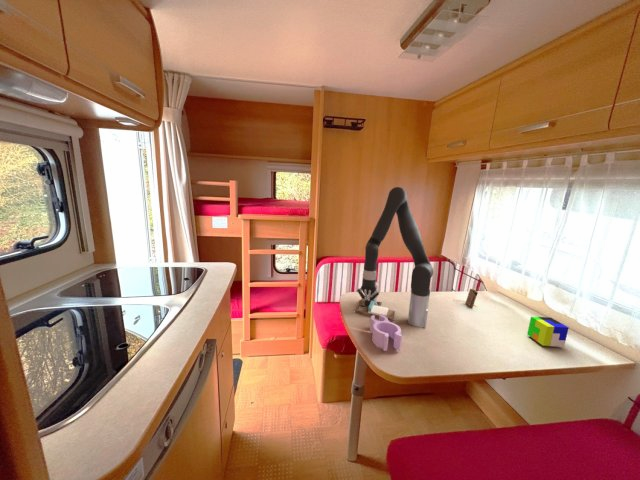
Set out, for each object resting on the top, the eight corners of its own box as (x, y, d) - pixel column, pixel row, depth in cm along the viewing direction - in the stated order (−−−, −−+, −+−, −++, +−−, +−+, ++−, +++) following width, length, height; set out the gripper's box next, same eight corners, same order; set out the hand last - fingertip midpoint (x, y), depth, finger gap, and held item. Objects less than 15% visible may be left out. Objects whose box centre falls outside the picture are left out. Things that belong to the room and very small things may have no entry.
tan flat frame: (396, 307, 160) (396, 305, 160) (393, 321, 143) (393, 318, 142) (361, 300, 168) (361, 298, 167) (354, 312, 150) (354, 310, 150)
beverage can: (377, 305, 162) (379, 281, 159) (375, 308, 157) (378, 284, 154) (368, 303, 164) (370, 280, 161) (366, 307, 159) (368, 283, 156)
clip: (363, 328, 134) (364, 315, 133) (386, 326, 137) (388, 314, 135) (379, 351, 115) (380, 337, 114) (405, 349, 117) (407, 335, 116)
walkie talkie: (482, 311, 160) (487, 283, 157) (460, 310, 161) (465, 282, 158) (472, 302, 173) (476, 276, 170) (451, 301, 174) (455, 275, 171)
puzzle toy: (564, 346, 126) (568, 327, 124) (542, 345, 126) (547, 326, 124) (546, 335, 135) (550, 317, 134) (527, 334, 136) (531, 316, 134)
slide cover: (388, 309, 153) (389, 303, 152) (386, 316, 144) (386, 310, 143) (371, 306, 156) (371, 300, 156) (368, 313, 147) (368, 307, 147)
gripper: (382, 277, 150) (379, 305, 153) (359, 273, 155) (357, 301, 158) (380, 281, 143) (377, 310, 146) (356, 277, 148) (354, 306, 151)
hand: (366, 305), depth 152 cm, fingers closed
